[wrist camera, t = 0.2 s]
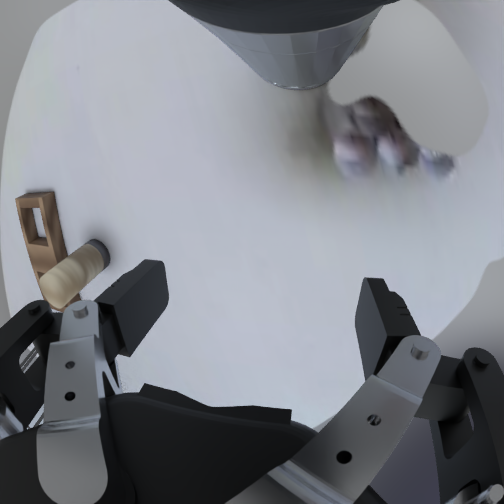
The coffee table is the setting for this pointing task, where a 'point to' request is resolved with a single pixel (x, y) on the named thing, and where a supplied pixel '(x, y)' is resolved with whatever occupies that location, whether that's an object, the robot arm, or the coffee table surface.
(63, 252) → the socket block
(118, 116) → the coffee table surface
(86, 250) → the banded peg
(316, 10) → the robot arm
